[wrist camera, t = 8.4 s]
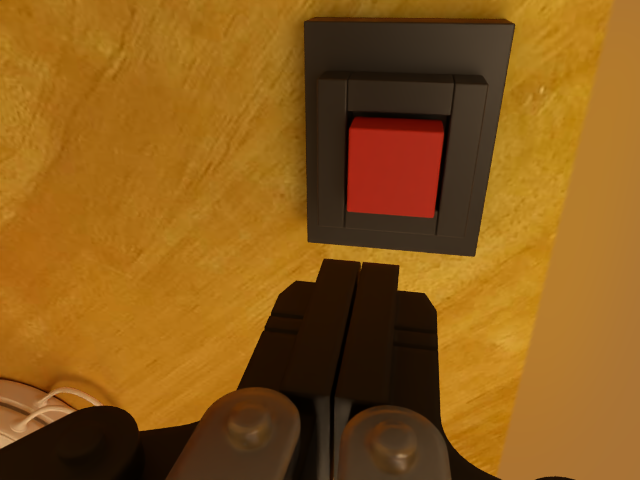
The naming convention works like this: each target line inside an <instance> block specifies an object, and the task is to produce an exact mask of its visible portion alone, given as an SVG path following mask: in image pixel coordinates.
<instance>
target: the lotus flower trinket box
mask: <svg viewBox="0 0 640 480" xmlns="http://www.w3.org/2000/svg"><path fill="white" fill-rule="evenodd" d="M63 392H65V393H71V394H75V395H77V396H80V397H82V398H84V399H86V400H88V401H89V402H91V403H92V404H94V405H95V406H104V405H103V404H102V403H101V402H100V401H98V400H97V399H95V398H94V397H92V396H91V395H89V394H87V393H85V392H83V391H80V390H78V389H75V388H71V387H60V388H57V389H55V390H53V391H51V392H50V393H48V394H47V393H45V392H43V391H41V390H38V389H36V388H33V387H31V386H28V385H25V384H21V383H18V382H14V381H9V380H2V379H0V449H1V448H3V447H5V446H7V445H9V444H11V443H13V442H15V441H17V440H18V439H20V438H22V437H24V436H26V435H28V434H30V433H32V432H34V431H36V430H38V429H40V428H42V427H44V426H46V425H48V424H50V423H52V422H54V421H56V420H58V419H60V418H62V417H64V416H66V415H68V414H70V413H72V412H75V411H77V410H75V409H73V408H71V407H70V406H68V405H67V404H65V403H64V402H62V401H60V400H59V399H57V398H55V397H53V395H55V394H58V393H63Z"/></svg>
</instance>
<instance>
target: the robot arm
mask: <svg viewBox="0 0 640 480" xmlns="http://www.w3.org/2000/svg"><path fill="white" fill-rule="evenodd" d="M398 276H399V265H390V264H379V263H368V262H363V264H362V268H361V263H360V262H356V261H345V260H333V259H324V260H323V262H322V265H321V268H320V271H319V274H318V277H317V280H316V282H305V281H295V282H294V283H292V284H291V285H290V286H289V287H288V288H286V289H285V290H284V291H283V292H282V293H280V294H279V296H278V298H277V300H276V303H275V305H274V307H273V309H272V312H271V316H269V318H268V321H267V323H266V325H265V329H264V331H263V332H262V334H261V336H260V339H259V341H258V343H257V345H256V348H255V350H254V352H253V354H252V357H251V359H250V361H249V363H248V366H247V368H246V370H245V372H244V375H243V377H242V379H241V381H240V383H239V386H238V388H237V390H236V391H233V392H231V393H228V394H226V395H224V396H223V397H221V398H219V399H218V400H217V401H215V402H214V403H213V404H212V405H211V406H210V407H209V408H208V409H207V411H206V412H205V414H204V415H203V417H202V418H201V420H200V421H198V422H194V423H191V424H187V425H182V426H176V427H168V428H161V429H154V430H146V431H139V430H138V427H137V424H136V422H135V420H134V418H133V417H132V416H131V415H130V414H129V413H128V412H126V411H125V410H123V409H120V408H118V407H113V406H93V407H88V408H84V409H81V410H78V411H75V412H72V413H70V414H68V415H66V416H64V417H62V418H60V419H58V420H56V421H54V422H52V423H50V424H48V425H46V426H44V427H42V428H40V429H38V430H36V431H34V432H32V433H30V434H28V435H26V436H24V437H22V438H20V439H18V440H17V441H15V442H13V443H11V444H9V445H7V446H5V447H3V448H1V449H0V480H333V479H334V480H501V479H499V478H497V477H495V476H492V475H490V474H488V473H486V472H484V471H482V470H480V469H478V468H477V467H475V466H474V465H472V464H471V463H469V462H468V461H467V460H466V459H464V458H463V457H462V456H461V455H460V454H459V453H458V452H457V451H456V450H455V449H454V448H453V446H452V445H451V443H450V442H449V441H448V439H447V437H446V435H445V433H444V430H443V427H442V424H441V417H440V390H439V363H438V336H437V311H436V309H435V308H434V306H433V305H432V303H431V302H430V300H429V299H428V297H427V296H426V294H425V293H418V292H407V291H397V288H398ZM536 480H574V479H570V478H566V477H556V476H555V477H544V478H539V479H536Z"/></svg>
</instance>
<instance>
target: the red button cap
mask: <svg viewBox="0 0 640 480" xmlns="http://www.w3.org/2000/svg"><path fill="white" fill-rule="evenodd" d="M443 138H444V130H443V123H442V121H441V120H427V119H404V118H381V117H358V116H356V117H355V118H354V120H353V122H352V124H351V126H350V128H349V146H348V184H347V211H348V212H360V213H373V214H386V215H399V216H412V217H426V218H433V217H434V212H435V204H436V196H437V188H438V180H439V171H440V163H441V155H442V147H443Z"/></svg>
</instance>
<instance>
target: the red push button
mask: <svg viewBox="0 0 640 480" xmlns="http://www.w3.org/2000/svg"><path fill="white" fill-rule="evenodd" d="M514 29H515V24H514V23H512V22H510V21H508V20H506V19H445V18H351V17H315V18H312V19H309V20H306V21H304V52H305V112H306V173H307V233H308V242H312V243H323V244H335V245H346V246H358V247H369V248H380V249H392V250H403V251H415V252H426V253H438V254H449V255H460V256H472V257H474V256H475V253H476V248H477V242H478V236H479V230H480V225H481V219H482V213H483V207H484V202H485V196H486V190H487V184H488V179H489V173H490V167H491V161H492V155H493V150H494V144H495V138H496V132H497V127H498V121H499V115H500V109H501V104H502V98H503V92H504V86H505V81H506V75H507V69H508V63H509V57H510V52H511V46H512V40H513V34H514ZM356 116H358V117H381V118H404V119H427V120H441V121H442V123H443V130H444V138H443V147H442V155H441V163H440V171H439V180H438V188H437V196H436V204H435V212H434V217H433V218H426V217H412V216H399V215H386V214H373V213H360V212H348V211H347V184H348V146H349V128H350V126H351V124H352V122H353V120H354V118H355V117H356Z"/></svg>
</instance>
